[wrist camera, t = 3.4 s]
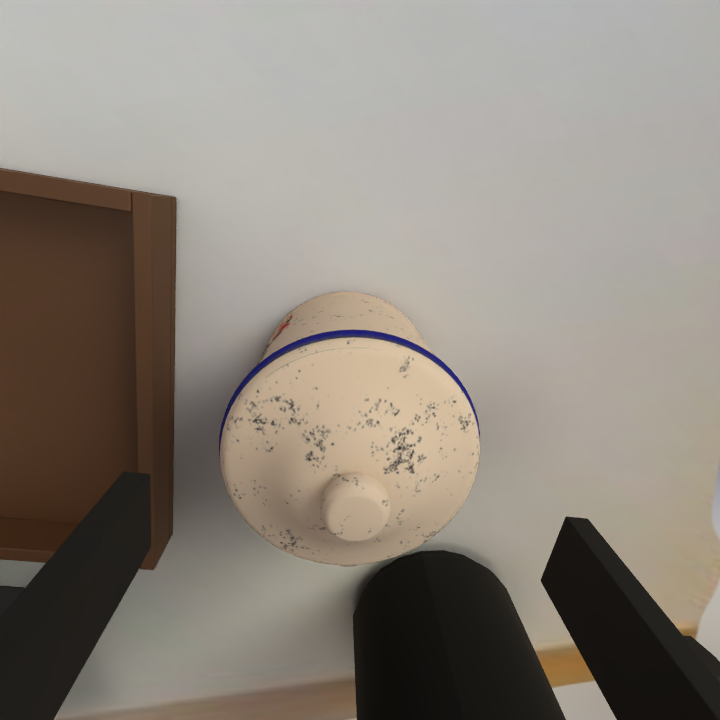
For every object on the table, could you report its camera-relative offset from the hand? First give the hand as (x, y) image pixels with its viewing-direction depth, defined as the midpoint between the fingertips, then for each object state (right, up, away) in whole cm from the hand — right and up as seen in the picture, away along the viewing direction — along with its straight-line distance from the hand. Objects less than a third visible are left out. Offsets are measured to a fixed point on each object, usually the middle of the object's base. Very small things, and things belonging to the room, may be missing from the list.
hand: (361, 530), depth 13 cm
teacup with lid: (-1, +4, +10) cm, 11 cm away
